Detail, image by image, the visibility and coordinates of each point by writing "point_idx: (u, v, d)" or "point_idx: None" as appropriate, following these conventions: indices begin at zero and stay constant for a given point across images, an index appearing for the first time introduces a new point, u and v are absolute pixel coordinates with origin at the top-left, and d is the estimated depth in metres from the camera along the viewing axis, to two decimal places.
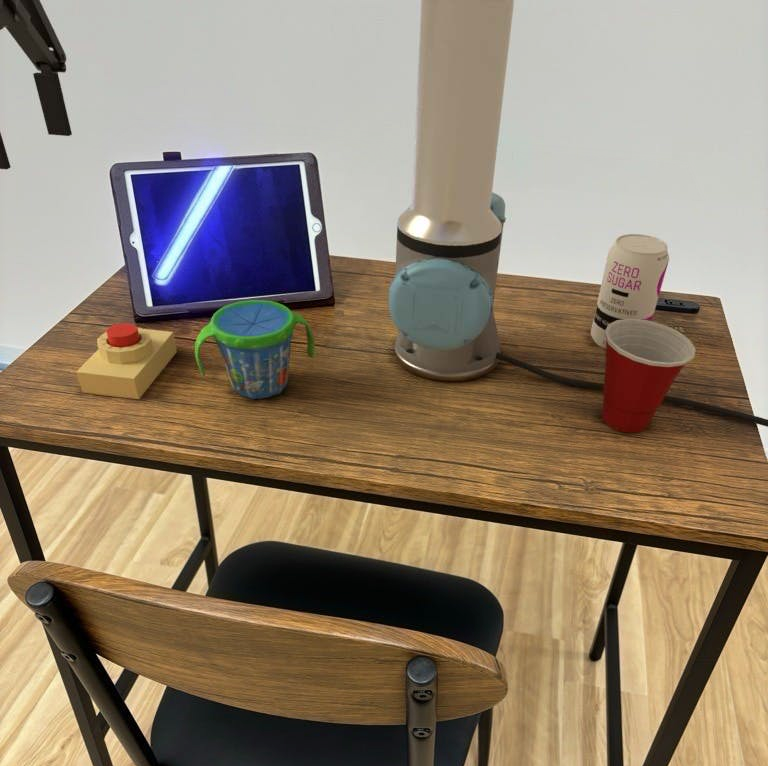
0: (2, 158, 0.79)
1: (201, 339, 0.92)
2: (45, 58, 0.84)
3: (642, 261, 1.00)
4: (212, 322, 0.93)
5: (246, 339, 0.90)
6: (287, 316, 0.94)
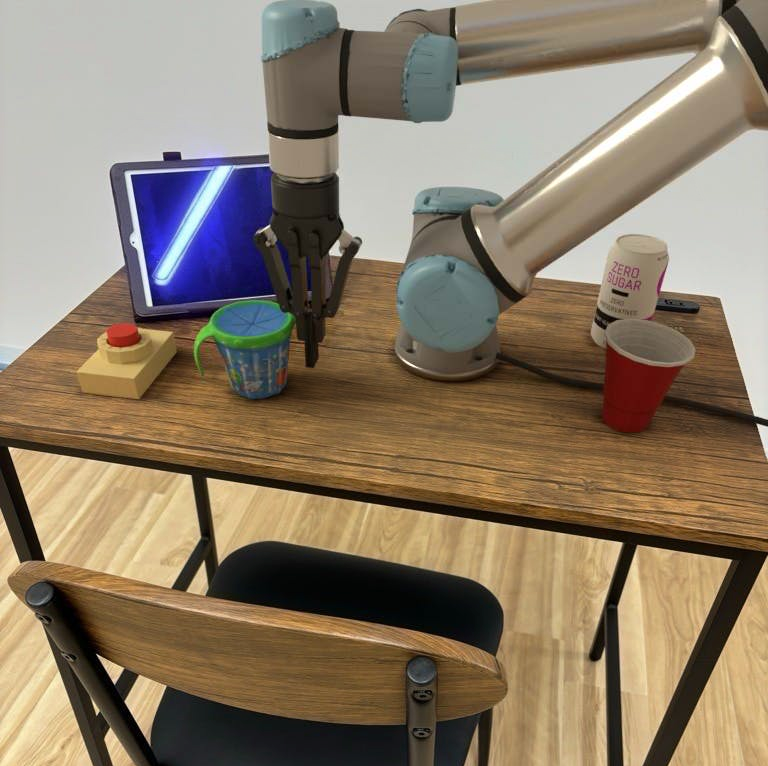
0: (305, 359, 0.95)
1: (200, 339, 0.92)
2: None
3: (642, 261, 1.00)
4: (211, 322, 0.93)
5: (245, 339, 0.90)
6: (286, 316, 0.94)
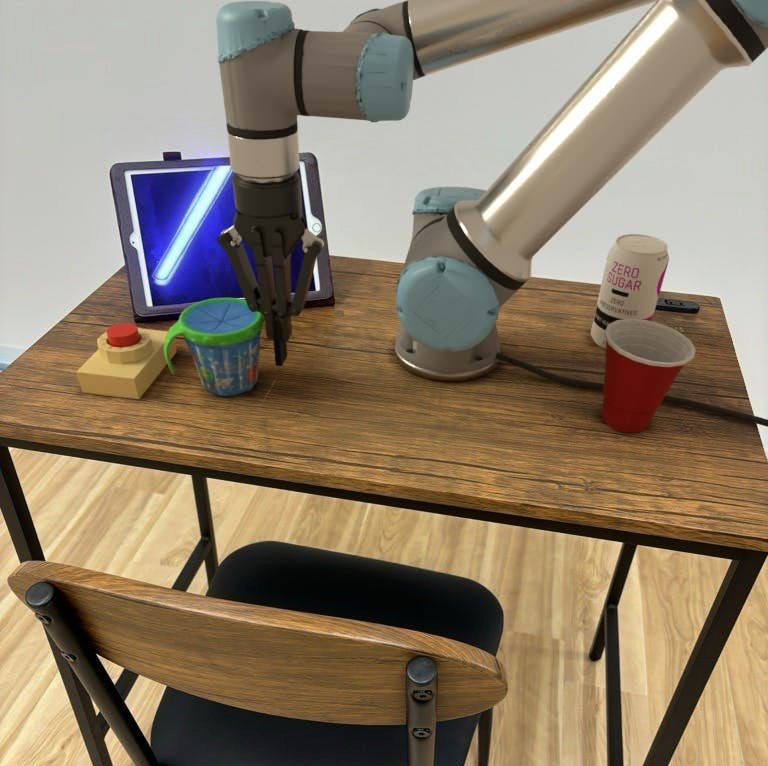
0: (275, 357, 0.95)
1: (170, 337, 0.92)
2: None
3: (642, 261, 1.00)
4: (180, 320, 0.93)
5: (214, 336, 0.90)
6: (255, 312, 0.95)
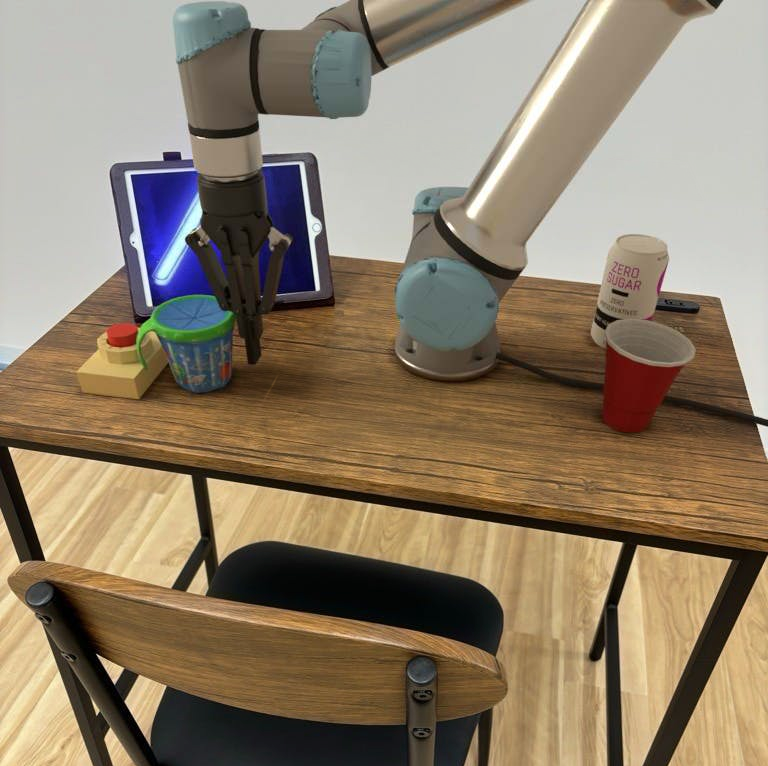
0: (249, 356, 0.96)
1: (142, 333, 0.93)
2: None
3: (642, 261, 1.00)
4: (152, 317, 0.93)
5: (185, 333, 0.91)
6: None
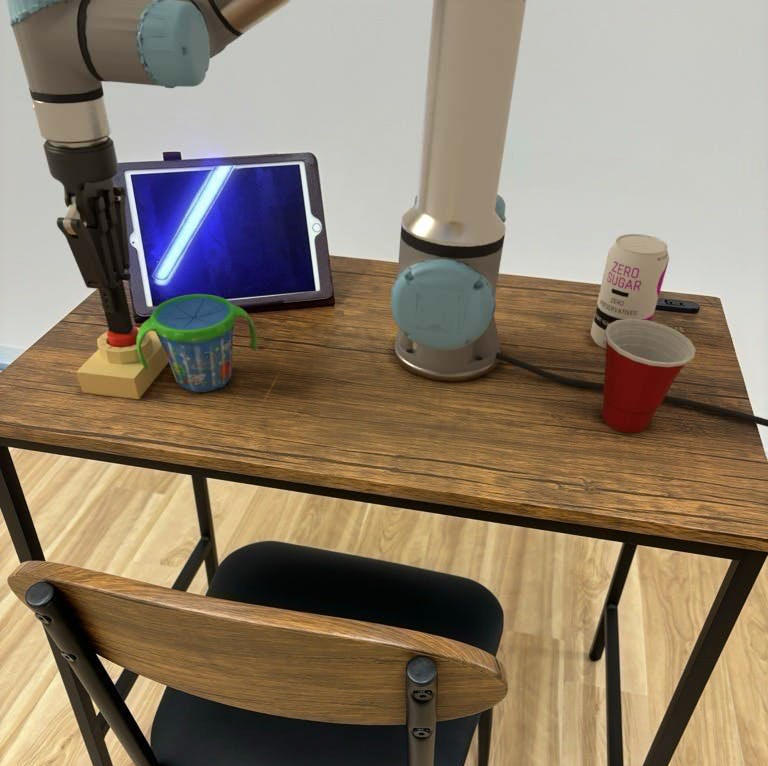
0: (125, 326, 0.97)
1: (142, 333, 0.93)
2: (115, 262, 0.93)
3: (642, 261, 1.00)
4: (152, 316, 0.93)
5: (185, 332, 0.91)
6: (228, 309, 0.95)
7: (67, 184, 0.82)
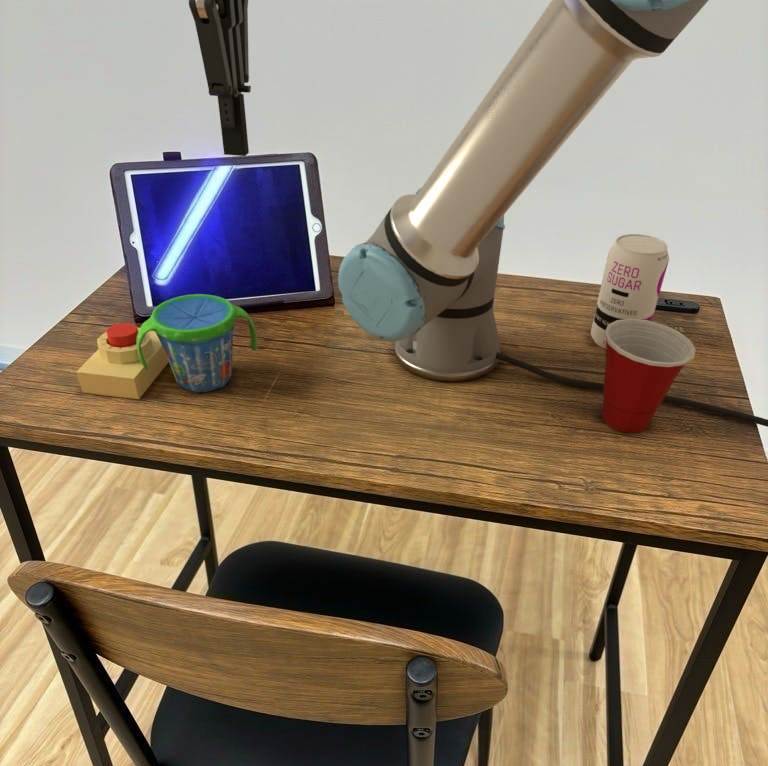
0: (243, 146, 0.90)
1: (142, 333, 0.93)
2: (237, 69, 0.86)
3: (642, 261, 1.00)
4: (152, 316, 0.93)
5: (185, 332, 0.91)
6: (228, 309, 0.95)
7: None
